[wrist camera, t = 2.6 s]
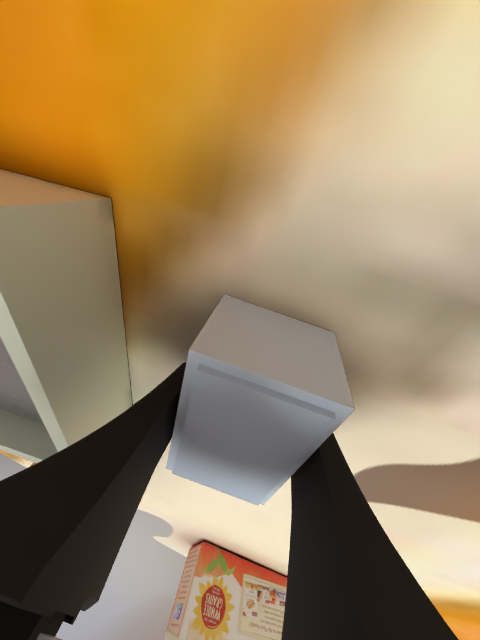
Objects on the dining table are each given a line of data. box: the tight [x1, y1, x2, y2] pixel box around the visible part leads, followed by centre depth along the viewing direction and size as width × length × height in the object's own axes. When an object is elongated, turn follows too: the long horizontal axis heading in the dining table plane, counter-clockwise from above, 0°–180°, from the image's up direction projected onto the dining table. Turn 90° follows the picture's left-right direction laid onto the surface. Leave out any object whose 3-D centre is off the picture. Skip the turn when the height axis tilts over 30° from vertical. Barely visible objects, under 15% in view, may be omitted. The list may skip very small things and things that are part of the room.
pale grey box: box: [166, 294, 355, 505], centre depth 10 cm, size 8×5×4 cm, turn 165°
